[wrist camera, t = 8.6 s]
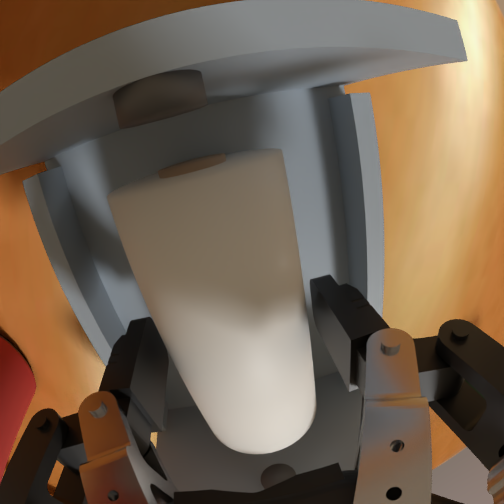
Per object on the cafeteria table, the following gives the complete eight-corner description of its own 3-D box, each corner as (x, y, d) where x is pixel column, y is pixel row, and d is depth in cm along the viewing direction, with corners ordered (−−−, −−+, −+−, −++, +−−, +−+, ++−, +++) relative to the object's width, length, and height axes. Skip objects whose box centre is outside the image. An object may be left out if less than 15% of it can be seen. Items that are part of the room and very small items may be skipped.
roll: (130, 174, 10) (74, 207, 6) (263, 140, 11) (305, 147, 6) (208, 383, 15) (213, 464, 10) (301, 362, 15) (330, 438, 11)
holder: (52, 138, 10) (-82, 166, 3) (327, 68, 11) (457, 20, 3) (166, 405, 17) (162, 512, 10) (353, 361, 18) (407, 458, 10)
